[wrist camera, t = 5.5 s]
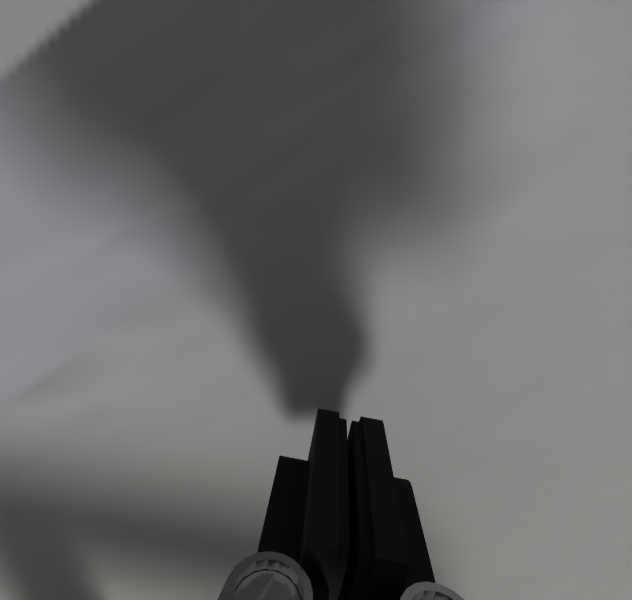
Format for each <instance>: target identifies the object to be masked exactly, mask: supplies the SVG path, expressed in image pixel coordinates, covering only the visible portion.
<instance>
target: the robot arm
mask: <svg viewBox="0 0 632 600" xmlns="http://www.w3.org/2000/svg"><path fill="white" fill-rule="evenodd" d="M218 600H464V599H463V598H462V597H460V596H459V595H458V594H456V593H455V592H454V591H453V590H451V589H449V588H446V587H444V586H442V585H440V584H436V583H435V579H434V575H433V571H432V567H431V563H430V559H429V554H428V550H427V546H426V542H425V538H424V534H423V530H422V526H421V522H420V518H419V514H418V510H417V506H416V502H415V498H414V494H413V489H412V486H411V483H410V482H409V481H408V480H405V479H400V478H395V477H394V476H393V471H392V466H391V461H390V455H389V450H388V445H387V440H386V434H385V429H384V424H383V421H382V420H377V419H371V418H366V417H361V418H360V420H359V422H356V421H352V423H351V426H350V431H349V435H348V439H347V421H346V419H340V418H339V412H334V411H329V410H324V409H318V412H317V417H316V422H315V427H314V432H313V437H312V442H311V447H310V452H309V457H308V461H305V460H300V459H295V458H290V457H284V456H280V457H279V461H278V465H277V469H276V474H275V478H274V482H273V487H272V491H271V495H270V500H269V504H268V508H267V513H266V517H265V521H264V526H263V530H262V534H261V539H260V543H259V548H258V552H257V553H255V554H253V555H250V556H248V557H246V558H244V559H243V560H242V561H241V562H240V563H238V564H237V565H236V566H235V567H234V569H233V570H232V572H231V573H230V575H229V576H228V578H227V580H226V582H225V585H224V587H223V589H222V591H221V593H220V595H219V598H218Z"/></svg>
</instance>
